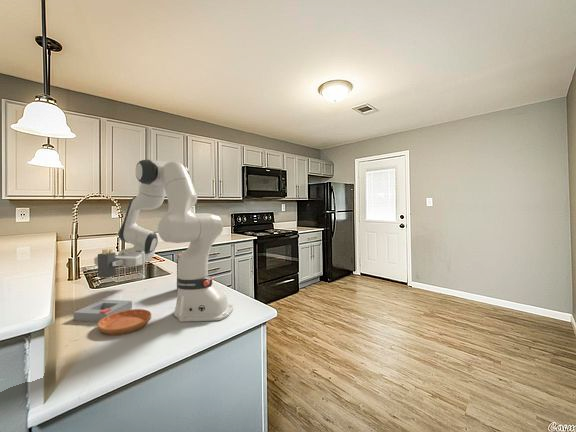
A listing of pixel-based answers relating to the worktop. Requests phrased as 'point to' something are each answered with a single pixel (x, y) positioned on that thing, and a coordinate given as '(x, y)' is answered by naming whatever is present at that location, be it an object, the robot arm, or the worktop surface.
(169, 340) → the worktop surface
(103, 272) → the plug
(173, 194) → the robot arm
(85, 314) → the socket
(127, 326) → the saucer
